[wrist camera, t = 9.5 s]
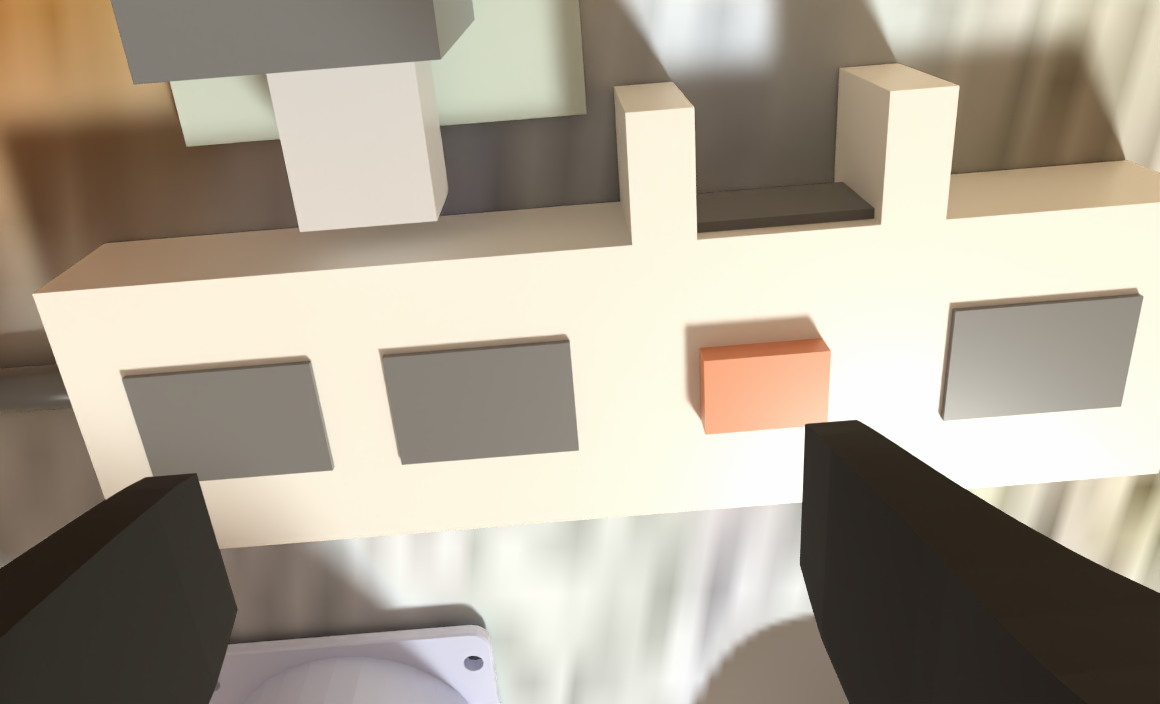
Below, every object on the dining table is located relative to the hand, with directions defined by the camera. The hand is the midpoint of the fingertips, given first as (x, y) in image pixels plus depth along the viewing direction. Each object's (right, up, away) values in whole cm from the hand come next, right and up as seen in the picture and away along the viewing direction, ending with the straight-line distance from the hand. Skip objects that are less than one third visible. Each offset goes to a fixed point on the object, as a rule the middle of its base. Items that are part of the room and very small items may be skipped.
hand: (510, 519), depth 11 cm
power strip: (-1, +3, +9) cm, 10 cm away
